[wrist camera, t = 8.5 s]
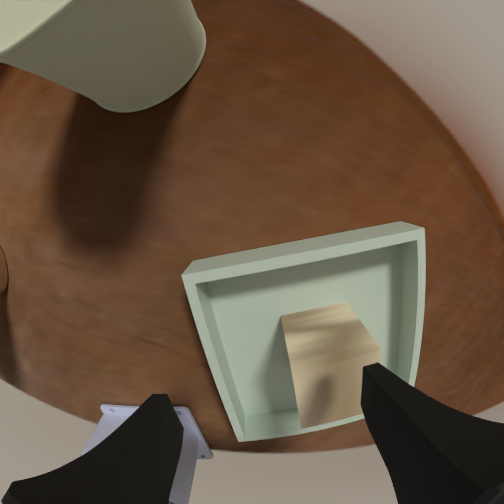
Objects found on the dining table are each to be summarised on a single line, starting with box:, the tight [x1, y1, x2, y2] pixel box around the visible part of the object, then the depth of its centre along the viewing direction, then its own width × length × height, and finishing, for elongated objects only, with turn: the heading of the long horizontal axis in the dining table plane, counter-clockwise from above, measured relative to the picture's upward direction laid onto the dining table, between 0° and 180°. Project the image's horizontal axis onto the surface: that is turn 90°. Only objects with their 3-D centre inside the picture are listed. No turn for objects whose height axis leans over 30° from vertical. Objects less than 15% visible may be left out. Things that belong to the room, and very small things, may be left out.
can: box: [0, 0, 206, 113], centre depth 8 cm, size 9×9×12 cm
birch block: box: [281, 301, 382, 429], centre depth 15 cm, size 4×4×6 cm
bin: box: [182, 221, 426, 442], centre depth 17 cm, size 14×14×3 cm
